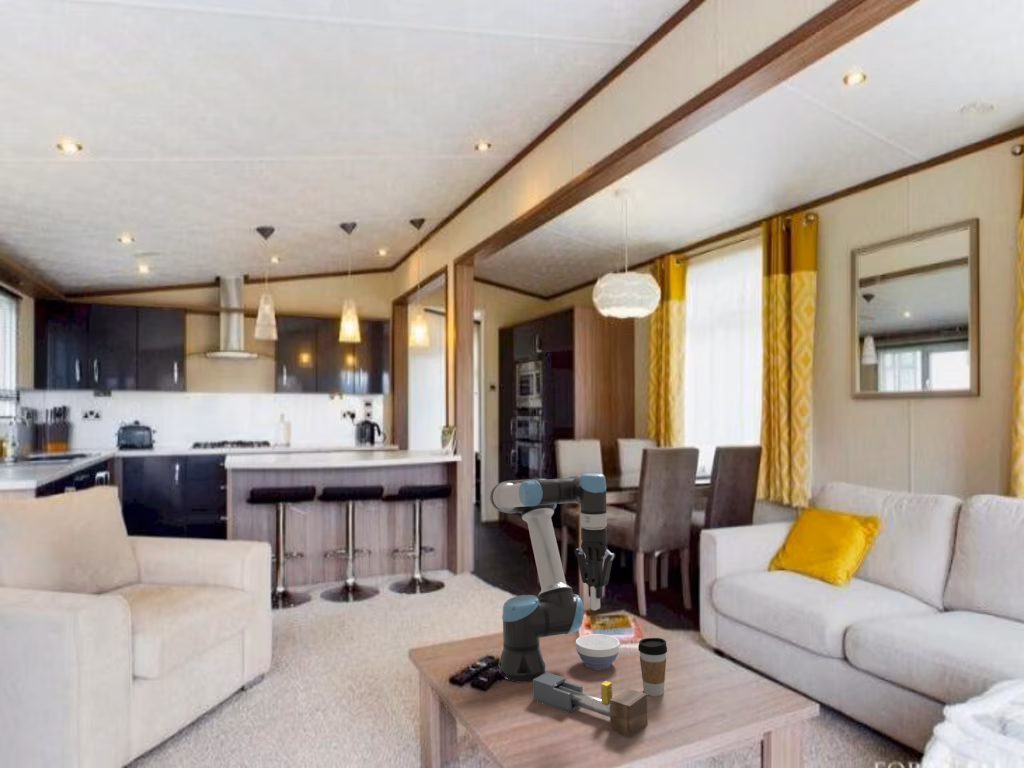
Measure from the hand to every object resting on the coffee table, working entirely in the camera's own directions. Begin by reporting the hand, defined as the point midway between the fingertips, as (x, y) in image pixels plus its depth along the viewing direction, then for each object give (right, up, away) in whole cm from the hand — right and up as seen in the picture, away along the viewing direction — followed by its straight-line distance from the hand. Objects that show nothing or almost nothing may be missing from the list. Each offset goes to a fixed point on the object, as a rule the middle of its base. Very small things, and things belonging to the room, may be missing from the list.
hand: (595, 608), depth 191 cm
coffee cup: (+18, -26, +4) cm, 32 cm away
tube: (-2, -26, -9) cm, 28 cm away
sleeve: (-11, -27, -2) cm, 29 cm away
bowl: (+4, -27, +25) cm, 37 cm away
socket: (+6, -26, -16) cm, 31 cm away
